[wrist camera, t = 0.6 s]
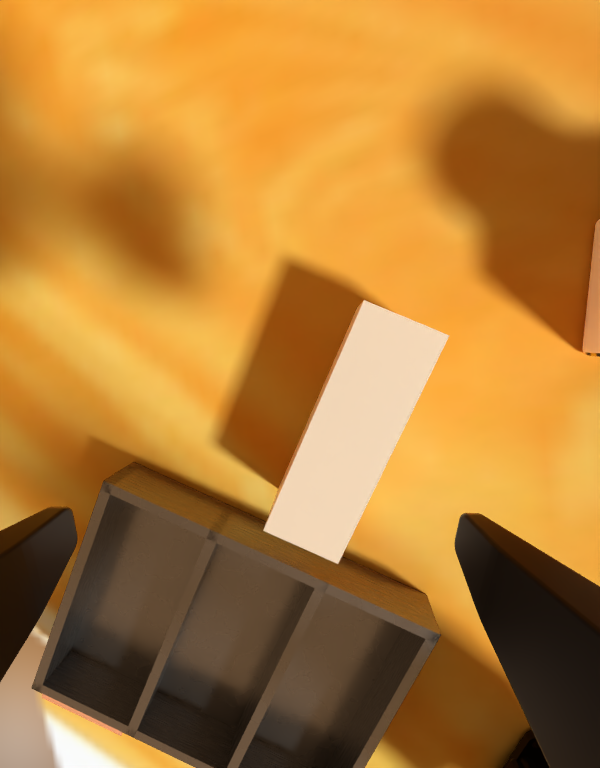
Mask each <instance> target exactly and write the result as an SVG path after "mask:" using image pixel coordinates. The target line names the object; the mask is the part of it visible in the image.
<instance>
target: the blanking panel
mask: <svg viewBox="0 0 600 768" xmlns="http://www.w3.org/2000/svg"><path fill="white" fill-rule="evenodd" d="M448 337H449V335H446V334H444V333H442V332H439V331H437V330H434V329H432V328H430V327H427V326H425V325H423V324H420V323H418V322H415V321H413V320H411V319H408V318H406V317H403V316H401V315H399V314H396V313H394V312H391V311H389V310H387V309H384V308H382V307H380V306H377V305H375V304H372V303H370V302H368V301H365V300H364V301H363V302H362V303H361V304H360V305H359V306H358V308H357V309H356V311H355V314H354V316H353V318H352V321H351V323H350V325H349V327H348V330H347V332H346V334H345V337H344V339H343V341H342V344H341V346H340V348H339V350H338V353H337V355H336V357H335V360H334V362H333V364H332V367H331V369H330V371H329V373H328V376H327V378H326V380H325V383H324V385H323V387H322V389H321V392H320V394H319V396H318V399H317V401H316V403H315V406H314V408H313V410H312V412H311V415H310V417H309V419H308V422H307V424H306V426H305V429H304V431H303V433H302V435H301V438H300V440H299V442H298V445H297V447H296V449H295V452H294V454H293V456H292V458H291V461H290V463H289V465H288V468H287V470H286V472H285V474H284V477H283V479H282V481H281V484H280V486H279V488H278V491H277V494H276V496H275V499H274V502H273V505H272V508H271V510H270V513H269V516H268V519H267V521H266V524H265V527H264V530H263V531H265V532H267V533H270V534H272V535H274V536H276V537H278V538H281V539H283V540H285V541H287V542H290V543H292V544H294V545H296V546H299V547H301V548H303V549H305V550H308V551H310V552H312V553H314V554H317V555H319V556H321V557H323V558H326V559H328V560H330V561H332V562H335V563H337V564H338V563H339V561H340V559H341V557H342V555H343V553H344V551H345V549H346V547H347V545H348V543H349V540H350V538H351V536H352V534H353V532H354V530H355V528H356V526H357V524H358V522H359V520H360V518H361V516H362V514H363V512H364V510H365V508H366V506H367V503H368V501H369V499H370V497H371V495H372V493H373V491H374V489H375V487H376V485H377V483H378V481H379V479H380V477H381V475H382V473H383V471H384V469H385V467H386V464H387V462H388V460H389V458H390V456H391V454H392V452H393V450H394V448H395V446H396V444H397V442H398V440H399V438H400V436H401V434H402V432H403V430H404V427H405V425H406V423H407V421H408V419H409V417H410V415H411V413H412V411H413V409H414V407H415V405H416V403H417V401H418V399H419V397H420V395H421V393H422V391H423V388H424V386H425V384H426V382H427V380H428V378H429V376H430V374H431V372H432V370H433V368H434V366H435V364H436V362H437V360H438V358H439V356H440V354H441V351H442V349H443V347H444V345H445V343H446V341H447V339H448Z"/></svg>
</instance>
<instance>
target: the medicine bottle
mask: <svg viewBox="0 0 600 768" xmlns="http://www.w3.org/2000/svg"><path fill="white" fill-rule="evenodd" d="M582 350H583V352H584V353H585V354H586V355H589V356H599V357H600V219H599V220H598V221H597V222H596V224H595V233H594V242H593V252H592V261H591V271H590V280H589V290H588V299H587V309H586V318H585V328H584V338H583V347H582Z"/></svg>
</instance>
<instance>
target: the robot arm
mask: <svg viewBox="0 0 600 768" xmlns="http://www.w3.org/2000/svg"><path fill="white" fill-rule="evenodd" d="M76 544H77V532H76V527H75V522H74V516H73V512H72V510H71V509H70V508H68V507H49V508H47V509H44V510H42V511H40V512H38V513H36V514H34V515H32V516H30V517H28V518H26V519H24V520H22V521H20V522H18V523H16V524H14V525H12V526H10V527H8V528H6V529H4V530H1V531H0V682H1V680H2V678H3V677H4V675H5V674H6V672H7V670H8V669H9V667H10V665H11V664H12V662H13V661H14V659H15V657H16V656H17V654H18V653H19V651H20V649H21V648H22V646H23V644H24V643H25V641H26V640H27V638H28V636H29V635H30V633H31V631H32V630H33V628H34V626H35V625H36V623H37V621H38V620H39V618H40V616H41V614H42V613H43V611H44V609H45V607H46V605H47V603H48V601H49V599H50V597H51V595H52V593H53V591H54V589H55V587H56V585H57V583H58V581H59V579H60V577H61V575H62V573H63V571H64V569H65V567H66V565H67V563H68V561H69V559H70V557H71V555H72V553H73V551H74V549H75V547H76ZM455 551H456V554H457V557H458V560H459V562H460V565H461V568H462V571H463V574H464V576H465V579H466V582H467V585H468V587H469V590H470V593H471V596H472V599H473V601H474V604H475V607H476V609H477V612H478V615H479V617H480V620H481V622H482V624H483V626H484V629H485V631H486V633H487V635H488V637H489V639H490V642H491V644H492V646H493V648H494V650H495V652H496V654H497V656H498V659H499V661H500V663H501V665H502V667H503V669H504V671H505V674H506V676H507V678H508V680H509V682H510V684H511V686H512V688H513V691H514V693H515V695H516V697H517V699H518V701H519V703H520V705H521V708H522V710H523V712H524V714H525V716H526V718H527V720H528V722H529V725H530V727H531V729H532V731H529V732H527V733H526V734H525V735H524V737H523V738H522V740H521V741H520V743H519V744H518V746H517V747H516V749H515V750H514V752H513V753H512V755H511V756H510V758H509V759H508V761H507V763H506V764H505V766H504V767H503V768H600V587H599V586H598V585H596V584H595V583H593V582H591V581H590V580H588V579H586V578H585V577H583V576H581V575H580V574H578V573H577V572H575V571H573V570H572V569H570V568H568V567H567V566H565V565H563V564H562V563H560V562H559V561H557V560H555V559H554V558H552V557H550V556H549V555H547V554H545V553H544V552H542V551H541V550H539V549H537V548H536V547H534V546H532V545H531V544H529V543H527V542H526V541H524V540H523V539H521V538H519V537H518V536H516V535H514V534H513V533H511V532H509V531H508V530H506V529H505V528H503V527H501V526H500V525H498V524H496V523H495V522H493V521H491V520H490V519H488V518H487V517H485V516H483V515H482V514H478V513H464V514H462V515H461V517H460V519H459V524H458V528H457V533H456V538H455Z"/></svg>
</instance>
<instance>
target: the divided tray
mask: <svg viewBox="0 0 600 768" xmlns="http://www.w3.org/2000/svg"><path fill="white" fill-rule="evenodd" d="M265 524H266V522H265V521H263V520H260V519H258V518H256V517H254V516H252V515H249V514H247V513H245V512H243V511H241V510H238V509H236V508H234V507H232V506H230V505H227V504H225V503H223V502H221V501H219V500H216V499H214V498H212V497H210V496H208V495H205V494H203V493H201V492H199V491H197V490H194V489H192V488H190V487H188V486H186V485H183V484H181V483H179V482H177V481H175V480H172V479H170V478H168V477H166V476H164V475H161V474H159V473H157V472H155V471H152V470H150V469H148V468H146V467H144V466H141V465H139V464H137V463H135V462H133V463H131V464H130V465H128V466H126V467H125V468H123V469H122V470H120V471H119V472H117V473H115V474H114V475H112V476H111V477H109V478H107V479H106V480H104V481H103V484H102V487H101V490H100V493H99V496H98V499H97V501H96V504H95V507H94V510H93V513H92V516H91V519H90V522H89V524H88V527H87V530H86V533H85V536H84V539H83V542H82V544H81V547H80V550H79V553H78V556H77V559H76V562H75V565H74V567H73V570H72V573H71V576H70V579H69V582H68V585H67V588H66V590H65V593H64V596H63V599H62V602H61V605H60V608H59V610H58V613H57V616H56V619H55V622H54V625H53V628H52V631H51V633H50V636H49V639H48V642H47V645H46V648H45V651H44V654H43V656H42V659H41V662H40V665H39V668H38V671H37V674H36V676H35V679H34V682H33V685H32V689H34V690H36V691H38V692H40V693H42V698H44V699H46V700H48V701H50V702H52V703H54V704H56V705H58V706H60V707H62V708H64V709H67V710H69V711H71V712H73V713H75V714H77V715H79V716H81V717H83V718H85V719H87V720H89V721H91V722H93V723H95V724H98V725H100V726H102V727H104V728H106V729H108V730H110V731H112V732H114V733H116V734H118V735H120V736H121V735H122V733H125V734H127V735H129V736H131V737H133V738H135V739H137V740H139V741H142V742H144V743H146V744H148V745H150V746H152V747H154V748H156V749H158V750H160V751H162V752H164V753H166V754H168V755H171V756H173V757H175V758H177V759H179V760H181V761H183V762H185V763H187V764H189V765H191V766H193V767H195V768H365V766H366V765H367V763H368V761H369V759H370V758H371V756H372V754H373V752H374V751H375V749H376V747H377V745H378V744H379V742H380V740H381V738H382V737H383V735H384V733H385V731H386V730H387V728H388V726H389V725H390V723H391V721H392V719H393V718H394V716H395V714H396V712H397V711H398V709H399V707H400V705H401V704H402V702H403V700H404V698H405V697H406V695H407V693H408V691H409V690H410V688H411V686H412V684H413V683H414V681H415V679H416V678H417V676H418V674H419V672H420V671H421V669H422V667H423V665H424V664H425V662H426V660H427V658H428V657H429V655H430V653H431V651H432V650H433V648H434V646H435V644H436V643H437V641H438V639H439V638H440V636H441V634H440V631H439V628H438V625H437V623H436V620H435V617H434V614H433V611H432V609H431V606H430V603H429V600H428V597H427V595H426V594H424V593H421V592H419V591H417V590H415V589H413V588H410V587H408V586H406V585H404V584H402V583H399V582H397V581H395V580H393V579H391V578H388V577H386V576H384V575H382V574H380V573H377V572H375V571H373V570H371V569H369V568H366V567H364V566H362V565H360V564H357V563H355V562H353V561H351V560H349V559H346V558H344V557H341V559H340V561H339V563H338V564H337V563H335V562H332V561H330V560H328V559H326V558H323V557H321V556H319V555H317V554H314V553H312V552H310V551H308V550H305V549H303V548H301V547H299V546H296V545H294V544H292V543H290V542H287V541H285V540H283V539H281V538H278V537H276V536H274V535H272V534H270V533H267V532H265V531H263V530H264V527H265Z"/></svg>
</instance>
